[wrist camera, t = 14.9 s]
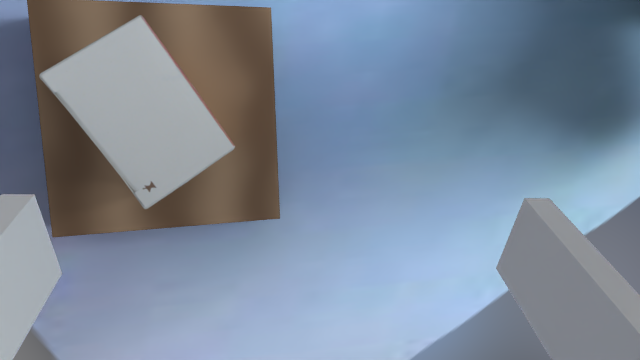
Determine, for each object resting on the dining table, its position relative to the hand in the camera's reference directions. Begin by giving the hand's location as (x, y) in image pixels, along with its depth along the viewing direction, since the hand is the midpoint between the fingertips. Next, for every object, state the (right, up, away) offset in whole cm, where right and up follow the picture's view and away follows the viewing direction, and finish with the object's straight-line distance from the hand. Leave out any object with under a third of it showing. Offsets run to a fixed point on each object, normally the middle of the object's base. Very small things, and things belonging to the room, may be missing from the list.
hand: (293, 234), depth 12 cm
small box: (-11, +6, +19) cm, 22 cm away
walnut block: (-12, +7, +24) cm, 27 cm away
